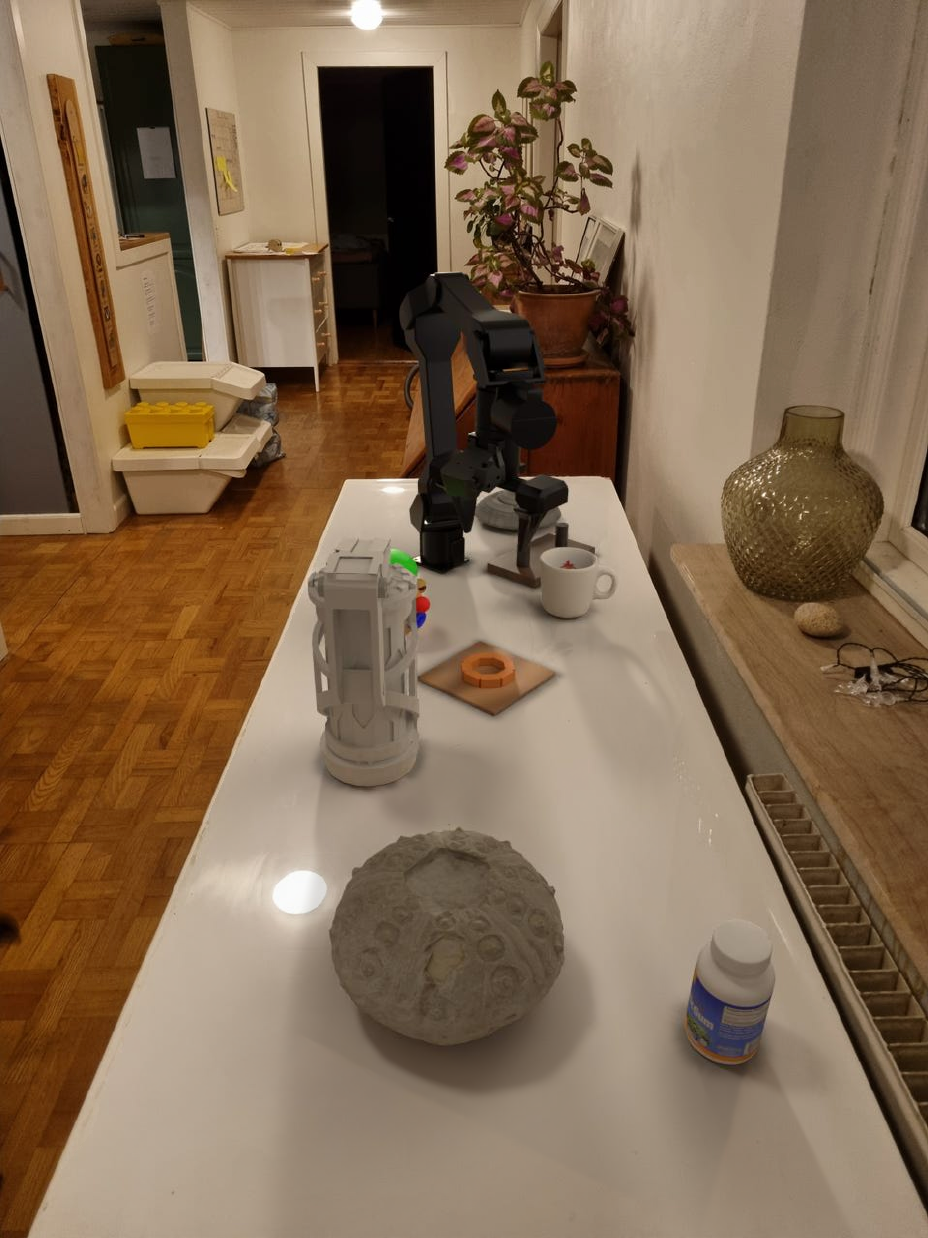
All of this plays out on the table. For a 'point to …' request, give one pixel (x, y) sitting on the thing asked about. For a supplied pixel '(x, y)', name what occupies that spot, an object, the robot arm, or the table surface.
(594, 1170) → the table surface
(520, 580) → the peg board
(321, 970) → the table surface
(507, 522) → the flying saucer
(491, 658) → the ring
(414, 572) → the figurine
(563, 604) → the cup
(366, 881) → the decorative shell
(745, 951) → the pill bottle
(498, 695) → the cork mat
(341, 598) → the lantern
